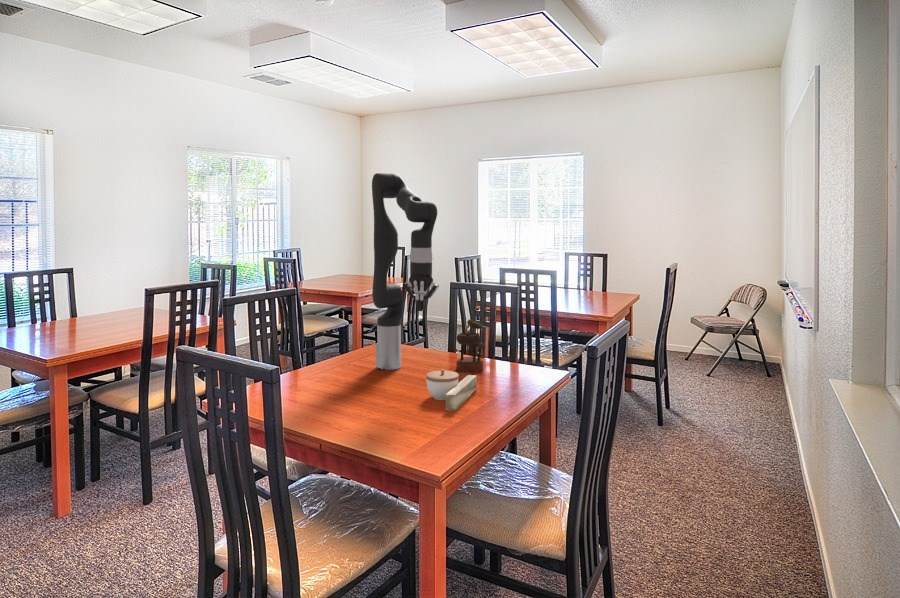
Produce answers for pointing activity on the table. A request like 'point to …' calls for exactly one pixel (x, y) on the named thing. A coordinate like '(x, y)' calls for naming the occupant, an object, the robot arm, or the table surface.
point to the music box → (469, 339)
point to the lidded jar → (441, 383)
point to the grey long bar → (461, 392)
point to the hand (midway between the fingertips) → (420, 310)
